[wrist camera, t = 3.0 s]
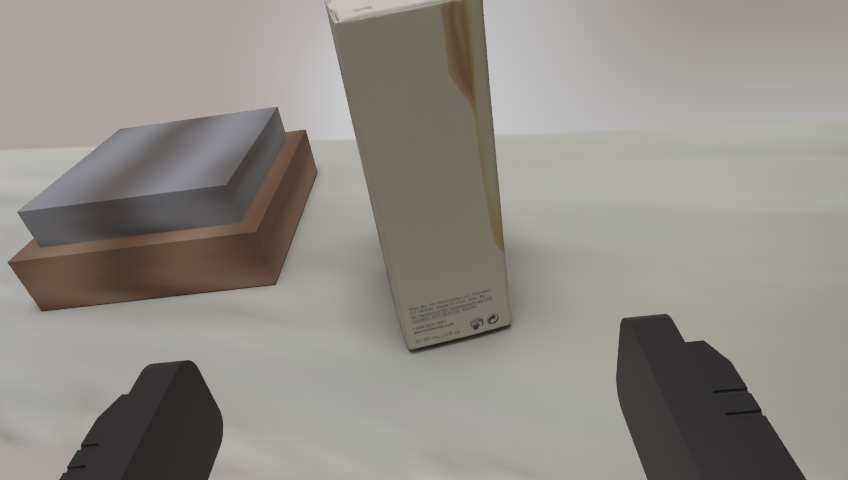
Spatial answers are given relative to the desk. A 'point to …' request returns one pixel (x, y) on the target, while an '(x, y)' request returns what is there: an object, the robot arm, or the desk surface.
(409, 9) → the skincare box
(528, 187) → the desk surface
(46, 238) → the metal plate on wood
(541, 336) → the desk surface
